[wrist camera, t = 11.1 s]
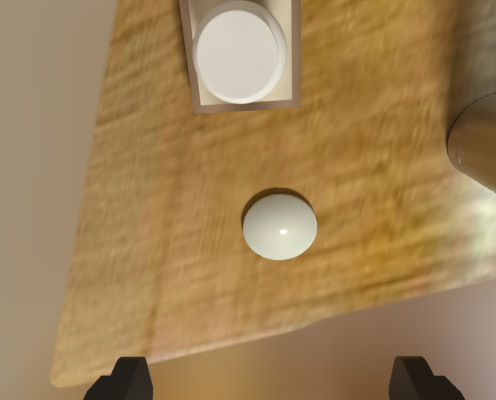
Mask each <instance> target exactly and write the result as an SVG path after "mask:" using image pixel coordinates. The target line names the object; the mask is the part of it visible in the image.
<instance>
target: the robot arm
mask: <svg viewBox="0 0 496 400" xmlns="http://www.w3.org/2000/svg"><path fill="white" fill-rule="evenodd" d="M447 148H448V155H449V158H450V160H451V162H452V164H453V165H454V166H455V167H456V168H457V169H458V170H459V171H461V172H462V173H464V174H466V175H467V176H469V177H470V178H472V179H474V180H475V181H477V182H479V183H480V184H481V185H483V186H485V187H486V188H488V189H490V190H491V191H493V192H494V193H496V93H494V94H490V95H488V96H485V97H483V98H481V99H479V100H477V101H476V102H475V103H473V104H472V105H470V106H469V107H468V108H467V109H466V110H465V111H464V112H463V113H462V114H461V115H460V116H459V118H458V119H457V120H456V122H455V123H454V125H453V127H452V129H451V132H450V135H449V138H448V146H447ZM152 398H153V386H152V382H151V378H150V374H149V370H148V366H147V362H146V359H145V357H120V358H119V359H118V361H117V362H116V364H115V367H114V369H113V371H112V373H111V376H101V377H100V378H99V379H98V380H97V381H96V382H95V383H94V384H93V385H92V387H91V388H90V389H89V390H88V391H87V393H86V395H85V397H84V399H83V400H152ZM389 399H390V400H465V398H464V397H463V395H462V393H461V392H460V391H459V390H458V389H457V388H456V387H455V386H454V385H453V384H452V383H451V382H450V381H449V380H448V379H447V378H446V377H445V376H434V375H433V373H432V371H431V369H430V367H429V365H428V363H427V362H426V360H425V359H424V358H423V357H422V356H397V357H396V358H395V360H394V365H393V370H392V374H391V379H390V384H389Z"/></svg>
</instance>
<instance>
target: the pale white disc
mask: <svg viewBox="0 0 496 400" xmlns="http://www.w3.org/2000/svg"><path fill="white" fill-rule="evenodd" d="M243 232H244V237H245V240H246V242H247V244H248V245H249V247H250V248H251V249H252V250H253V251H255V252H256V253H257V254H259V255H261V256H263V257H265V258H269V259H274V260H284V259H290V258H293V257H295V256H298V255H300V254H301V253H303V252H304V251H305V250H307V249H308V248H309V247H310V245H311V244H312V242H313V241H314V239H315V236H316V233H317V221H316V218H315V215H314V212H313V210H312V209H311V207H310V206H309V205H308V204H307V203H306V202H305V201H304V200H302V199H301V198H299V197H297V196H294V195H291V194H285V193H277V194H271V195H267V196H265V197H263V198H261V199H259V200H258V201H256V202H255V203H254V204H253V205H252V206H251V207H250V208H249V210H248V211H247V213H246V215H245V218H244V224H243Z"/></svg>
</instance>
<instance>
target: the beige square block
mask: <svg viewBox="0 0 496 400" xmlns="http://www.w3.org/2000/svg"><path fill="white" fill-rule="evenodd" d="M228 1H234V0H179V6H180V13H181V21H182V28H183V36H184V43H185V50H186V58H187V65H188V73H189V80H190V88H191V95H192V103H193V110H194V114H203V113H219V112H235V111H250V110H266V109H282V108H298V107H300V53H301V0H245V1H250V2H253V3H256V4H258V5H260V6H262V7H264V8H265V9H267V10H268V11H269V12H270V13H271V14H272V15H273V16H274V17H275V18H276V20H277V21H278V22H279V24H280V26H281V28H282V30H283V32H284V35H285V38H286V43H287V61H286V67H285V70H284V73H283V75H282V77H281V79H280V81H279V83H278V84H277V85H276V87H275V88H274V89H273V90H272V91H271V92H270V93H269V94H267V95H266V96H265V97H263V98H261V99H259V100H257V101H254V102H251V103H246V104H236V103H230V102H226V101H223V100H221V99H219V98H217V97H216V96H214V95H213V94H212V93H210V92H209V91H208V90H207V89H206V88H205V86H204V85H203V84H202V82H201V81H200V79H199V77H198V75H197V73H196V70H195V67H194V63H193V57H192V47H193V40H194V35H195V33H196V30H197V28H198V26H199V24H200V22H201V21H202V19H203V18H204V17H205V16H206V15H207V14H208V13H209V12H210V11H211V10H212V9H213V8H215V7H216V6H218V5H220V4H222V3H225V2H228Z"/></svg>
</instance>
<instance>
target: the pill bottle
mask: <svg viewBox="0 0 496 400" xmlns="http://www.w3.org/2000/svg"><path fill="white" fill-rule="evenodd" d="M192 57H193V63H194V67H195V70H196V73H197V75H198V77H199V79H200V81H201V82H202V84H203V85H204V86H205V88H206V89H207V90H208V91H209V92H210V93H212V94H213V95H214V96H216V97H217V98H219V99H221V100H223V101H226V102H230V103H236V104H246V103H251V102H254V101H257V100H259V99H261V98H263V97H265V96H266V95H267V94H269V93H270V92H271V91H272V90H273V89H274V88H275V87H276V85H277V84H278V83H279V81H280V79H281V77H282V75H283V73H284V70H285V67H286V61H287V43H286V38H285V35H284V32H283V30H282V28H281V26H280V24H279V22H278V21H277V20H276V18H275V17H274V16H273V15H272V14H271V13H270V12H269V11H268V10H267V9H265V8H264V7H262V6H260V5H258V4H256V3H253V2H250V1H245V0H234V1H228V2H225V3H222V4H220V5H218V6H216V7H215V8H213V9H212V10H211V11H210V12H209V13H208V14H207V15H206V16H205V17H204V18H203V19H202V21H201V22H200V24H199V26H198V28H197V30H196V33H195V35H194V40H193V47H192Z"/></svg>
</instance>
